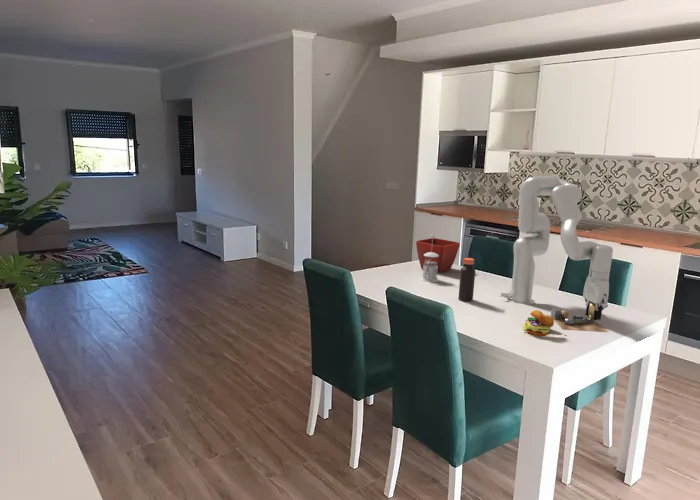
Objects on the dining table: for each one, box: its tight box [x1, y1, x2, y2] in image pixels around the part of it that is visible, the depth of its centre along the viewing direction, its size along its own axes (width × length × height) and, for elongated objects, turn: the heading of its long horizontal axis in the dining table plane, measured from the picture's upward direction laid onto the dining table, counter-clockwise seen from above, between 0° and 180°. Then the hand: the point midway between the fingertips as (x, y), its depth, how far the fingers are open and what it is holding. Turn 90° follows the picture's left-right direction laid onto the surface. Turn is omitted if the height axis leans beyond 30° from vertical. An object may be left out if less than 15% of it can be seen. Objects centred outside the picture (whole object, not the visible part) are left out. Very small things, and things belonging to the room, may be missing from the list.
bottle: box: [458, 257, 476, 303], centre depth 241 cm, size 7×7×20 cm
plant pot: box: [415, 237, 461, 274], centre depth 301 cm, size 19×19×17 cm
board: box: [554, 316, 609, 333], centre depth 211 cm, size 18×17×1 cm
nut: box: [561, 309, 570, 319], centre depth 217 cm, size 4×4×4 cm
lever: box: [564, 302, 600, 325], centre depth 211 cm, size 15×5×9 cm, turn 104°
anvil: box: [550, 306, 562, 320], centre depth 217 cm, size 2×5×4 cm, turn 175°
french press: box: [420, 234, 439, 283], centre depth 275 cm, size 10×12×25 cm
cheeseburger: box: [522, 309, 555, 337], centre depth 202 cm, size 10×11×10 cm
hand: (592, 317), depth 212 cm, fingers closed on lever, 4 cm apart
